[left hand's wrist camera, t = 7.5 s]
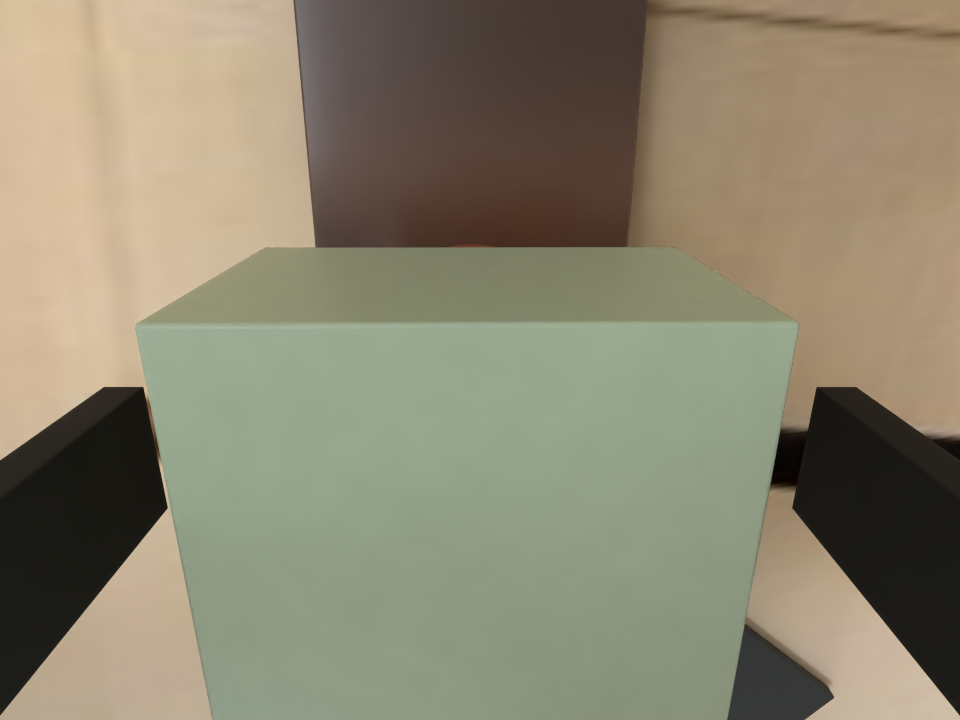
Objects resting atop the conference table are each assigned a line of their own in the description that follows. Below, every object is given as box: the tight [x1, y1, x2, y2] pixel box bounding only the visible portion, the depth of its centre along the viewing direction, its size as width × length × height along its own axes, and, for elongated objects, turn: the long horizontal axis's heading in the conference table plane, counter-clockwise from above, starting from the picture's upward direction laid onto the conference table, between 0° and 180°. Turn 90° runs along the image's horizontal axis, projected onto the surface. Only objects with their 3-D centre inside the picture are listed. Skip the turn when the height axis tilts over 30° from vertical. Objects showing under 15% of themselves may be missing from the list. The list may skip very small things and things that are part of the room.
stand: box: [294, 0, 648, 248], centre depth 14 cm, size 28×9×10 cm, turn 0°
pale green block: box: [136, 247, 799, 720], centre depth 11 cm, size 8×8×5 cm
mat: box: [727, 625, 834, 720], centre depth 27 cm, size 14×14×1 cm
